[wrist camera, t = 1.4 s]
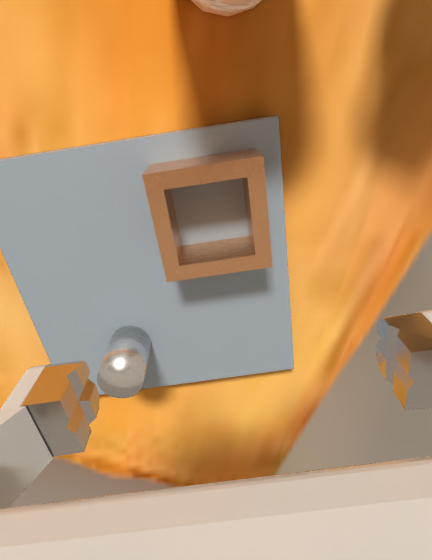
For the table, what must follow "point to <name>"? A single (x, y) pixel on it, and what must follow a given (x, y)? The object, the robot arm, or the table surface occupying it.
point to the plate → (146, 256)
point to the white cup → (225, 6)
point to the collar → (217, 253)
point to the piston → (125, 362)
